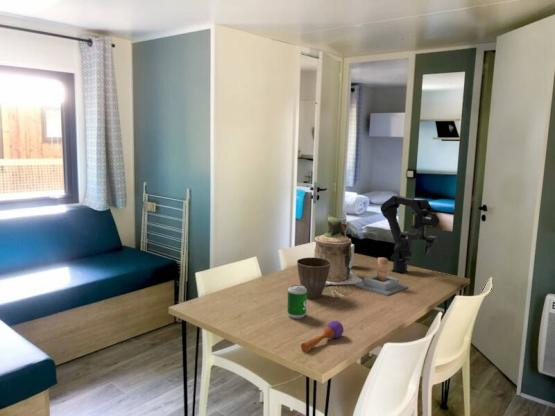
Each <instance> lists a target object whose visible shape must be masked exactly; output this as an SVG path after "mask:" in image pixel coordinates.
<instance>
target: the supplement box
mask: <svg viewBox="0 0 555 416" xmlns="http://www.w3.org/2000/svg"><path fill="white" fill-rule="evenodd" d="M354 252H355V244H353V243H352V244H351V253H352V257H351V260H350V264H349V268H350V270H351V268H353V267H354V254H355V253H354Z"/></svg>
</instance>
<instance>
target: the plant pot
mask: <svg viewBox="0 0 555 416" xmlns="http://www.w3.org/2000/svg"><path fill="white" fill-rule="evenodd" d="M296 264H297V274H298V278H299V283H300V284H299V285H302V286H304V287H305V288H306V289H307V299H311V300H316V299H320V298H321V296H322V294H323V292H324V289H325V287H326V285H325V284H326V281H327V278H328V274H329V269H330V264H331V263H330V261H328V260H326V259H322V258H314V257H302V258H300V259H297V260H296Z"/></svg>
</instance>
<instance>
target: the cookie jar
mask: <svg viewBox="0 0 555 416" xmlns="http://www.w3.org/2000/svg"><path fill="white" fill-rule="evenodd" d="M326 219H327V226H328V231H327V232H325V233H324V234H322V235H316V236H315V237H314V239H313V240H314V242H315V246H314V247H315V248H314V252H313V253H314V255H313V258H322V259H326V260H328V261H330V263H331V264H330V269H329V274H328V278H327V281H326V284H325V286H328V285H332V286H338V285H340V286H343V285H355V284H357V283H360V282H363V279H362V278H361V277H359V276H358V275H356V274H355V273H353V272H352V271H351V269H350V268H349V264H350V260H351V257H352V253H351V244H353V242H352V239H351V238H349V237H348V236H347V235H346V233H345V232H344V231H347V227H348V224H347V223H346V222H342V220H341V219H340V218H338V217H334V216H331V215H327V218H326Z"/></svg>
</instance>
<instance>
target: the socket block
mask: <svg viewBox="0 0 555 416" xmlns="http://www.w3.org/2000/svg"><path fill="white" fill-rule="evenodd" d="M354 287H356V288H359V289H361V290H362V289H363V290H365V291H369V292H372V293H376V294H379V295H383V296H390V295H392V294H395V293H397V292H400V291H402V290H405V289H407V288H408V285H407V284H404V283H403V284H402V283H400V278H395V277H392V276H388V275H387V276H386V281H385V282H381V281H378V280H377V273H375V274H373V275H370V276H366V277H364V278H363V280H362V282H360V283H357V284H354Z"/></svg>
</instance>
